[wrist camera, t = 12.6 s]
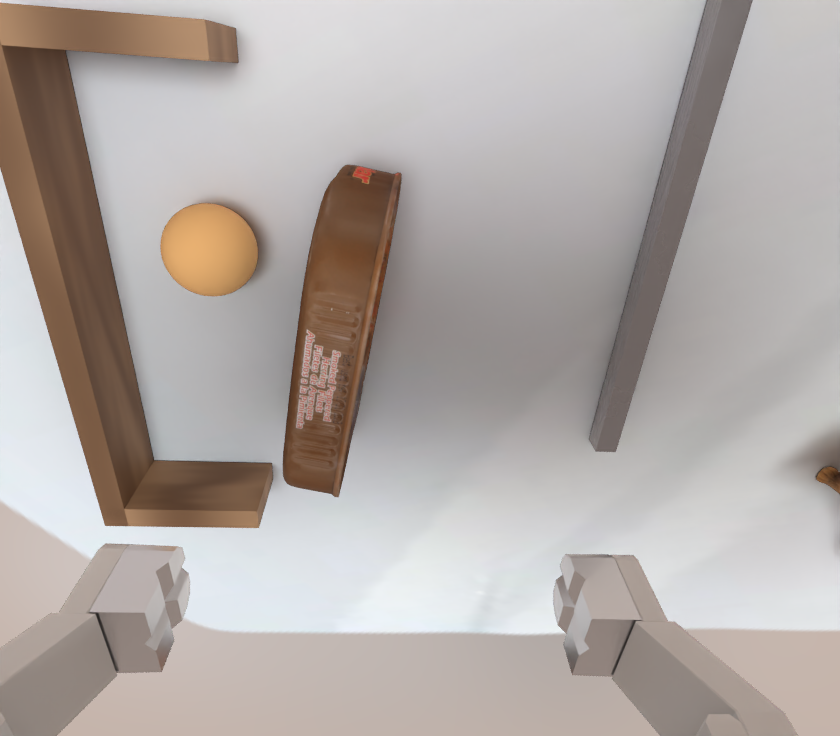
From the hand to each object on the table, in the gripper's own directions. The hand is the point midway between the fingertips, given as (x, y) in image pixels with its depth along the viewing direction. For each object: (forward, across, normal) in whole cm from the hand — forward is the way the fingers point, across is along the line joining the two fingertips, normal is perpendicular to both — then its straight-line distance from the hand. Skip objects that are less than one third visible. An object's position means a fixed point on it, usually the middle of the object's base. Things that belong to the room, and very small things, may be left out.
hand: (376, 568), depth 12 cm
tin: (+18, +2, +1) cm, 18 cm away
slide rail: (+18, -13, -7) cm, 23 cm away
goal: (+17, +11, +1) cm, 20 cm away
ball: (+15, +8, -2) cm, 17 cm away
